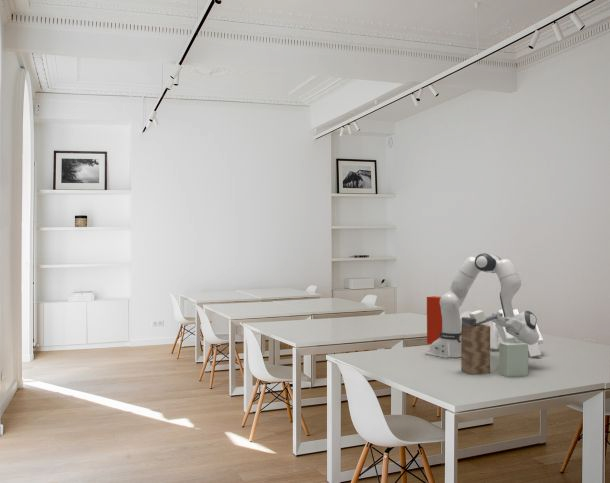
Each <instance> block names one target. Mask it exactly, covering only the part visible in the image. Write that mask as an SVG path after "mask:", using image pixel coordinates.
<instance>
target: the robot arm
mask: <svg viewBox="0 0 610 483" xmlns="http://www.w3.org/2000/svg"><path fill="white" fill-rule="evenodd" d="M481 272H484V273H491V274H496V275H497V278H498V281H499V283H500V292H499V300H500V304H501V309H502V310H503V314H504V317H502V316H500V315H496V318H497V319H494V320H491V321H490V322H494V323H496V324H498V325H500V326H503V327H505V329H506V332H507V333H509V334H510V335H512V336H514V337H517V338H518V339H519V340H520V341H522V342H524V343H526V344H528V345H533V344H535V343H536V342H537V341H538V340H539V334H538V332H537V330H536V324H537V316H536V315H535V314H534V313H533V312H532V311H529V310H525V311H522V312H520V313H519V314H518V315H516V316H514V312H513V310H514V309H513V304H512V301H513V298H514V296H516V294H517V293H518V292H519V290H520V289H521V287H522V281H521V277H520V275H519V273H518V270H517V268H516V266H515V265H514V264H513V261H511V260H510V259H507V258H504V259H501V257H499V256H498V255H494V254H493V253H486V252H485V253H480V254H478V255H477V256H476V257H475V256H468V257H467V258H466V259H465V260H464V262H463V263H462V264H461V266H460V267H459V269H458V270H457V272H456V274H455V276H454V278H453V279H452V282H451V284H450V287H449V289H448V291H447V292H446V293H443V295H441V296H440V297H441V299H440V306H441V314H442V332H441V333H439V335H440V338H438V339H437V340H436V341H434V342H433V343H432V344H430V346H429V350H427V351H426V353H425V354H426V355H428V356H433V357H434V356H435V357H440V358H445V359H447V358H461V325H462V318H461V315H460V307H461V306H462V305H463V303H464V301H465V299H466V297H467V295H468V293H469V290H470V289H471V287H472V286H473V284H474V282H475V280H476V279H477V277H478V275H479V273H481ZM494 314H495V313H491V315H494Z"/></svg>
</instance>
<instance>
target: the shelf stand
mask: <svg viewBox="0 0 610 483" xmlns="http://www.w3.org/2000/svg"><path fill="white" fill-rule="evenodd" d="M460 359H461V361H460V362H461V363H460V366H461V367H460V368H461V372H463V373H466V374H468V375H479V374H490V373H491V350H490V326H489V325H487V324H484V323H483V324H480V325H477V326H476V319H473V318H470V316H469V317H468V316H466V317H465V316H463V317H461V357H460Z"/></svg>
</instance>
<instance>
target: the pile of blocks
mask: <svg viewBox="0 0 610 483" xmlns="http://www.w3.org/2000/svg"><path fill="white" fill-rule="evenodd" d="M513 312H514V316H516V315H518V314H520V313H519V309H518V308H515V309H513ZM497 313H502V314H503V310H502V308H501V309H499V310H497V311H496V313H495V314H497ZM502 317H504V314H503V316H502ZM488 326H490V351H496V350H499V336H500V338H501V340H502V343H506V342H522V341H520V340H519V339H518V338H517V337H514V336H512V335H510V334H509V333H507V332H506V329H505V327H503V326H500V325H498V324H496V323H494V322H492V321H488ZM536 330H537V332H538V334H539V340H538V341H537V342H536V343H535V344H533V345H528V354H529V356H530V358H535V357H540V356H542V352H541V349H540V346H539V345H542V344H543V343H544V339H543V336H542V333H541V332H540V329H539V326H538V324H537V323H536ZM522 343H524V342H522Z"/></svg>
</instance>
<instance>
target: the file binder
mask: <svg viewBox="0 0 610 483" xmlns="http://www.w3.org/2000/svg"><path fill="white" fill-rule="evenodd" d="M441 297H442V296H437V295H432V296H426V344H428V345H431V344H432V343H433V342H434V341H436V340H437V339H438V338H440V335H439V333H441V332H442V314H441V306H440V299H441Z"/></svg>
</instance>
